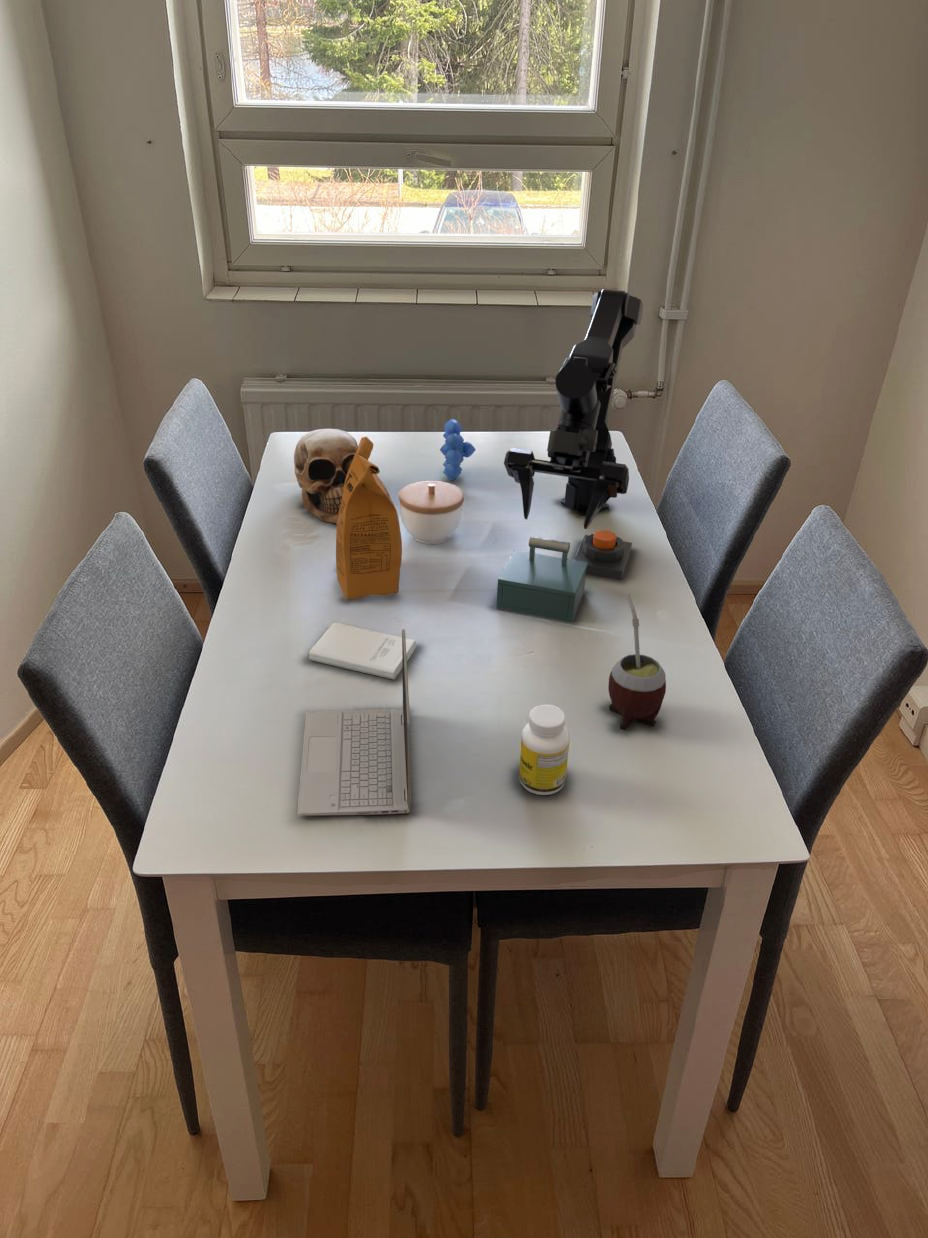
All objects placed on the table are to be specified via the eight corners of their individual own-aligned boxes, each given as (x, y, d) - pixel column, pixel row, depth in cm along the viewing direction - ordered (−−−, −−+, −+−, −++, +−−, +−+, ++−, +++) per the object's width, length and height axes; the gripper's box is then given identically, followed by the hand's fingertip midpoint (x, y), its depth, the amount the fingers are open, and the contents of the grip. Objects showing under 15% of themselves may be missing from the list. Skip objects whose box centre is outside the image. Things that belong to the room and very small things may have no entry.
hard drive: (335, 630, 135) (416, 648, 131) (309, 661, 128) (393, 681, 125) (334, 620, 134) (416, 638, 131) (308, 651, 127) (393, 671, 124)
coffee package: (399, 560, 152) (397, 431, 140) (404, 601, 142) (402, 465, 130) (337, 562, 151) (330, 432, 139) (337, 603, 141) (329, 467, 128)
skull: (347, 528, 160) (339, 452, 154) (270, 512, 168) (259, 440, 162) (400, 498, 172) (394, 426, 165) (325, 484, 180) (317, 416, 174)
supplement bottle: (515, 765, 112) (520, 700, 106) (560, 764, 112) (567, 699, 107) (521, 798, 107) (527, 731, 102) (568, 796, 108) (576, 730, 102)
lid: (513, 553, 146) (515, 527, 143) (587, 566, 143) (590, 540, 141) (497, 583, 138) (499, 556, 136) (575, 597, 136) (578, 570, 133)
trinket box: (465, 523, 163) (467, 473, 158) (459, 553, 154) (460, 501, 149) (404, 519, 164) (404, 469, 159) (394, 548, 155) (393, 496, 150)
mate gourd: (646, 741, 116) (664, 641, 108) (588, 719, 119) (601, 620, 111) (669, 710, 121) (687, 612, 113) (613, 689, 125) (627, 592, 116)
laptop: (306, 715, 118) (299, 629, 111) (406, 712, 119) (405, 627, 112) (297, 819, 103) (288, 727, 96) (411, 814, 104) (411, 723, 97)
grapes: (476, 492, 174) (479, 430, 167) (440, 492, 173) (441, 430, 167) (472, 466, 184) (474, 407, 177) (438, 466, 183) (438, 407, 177)
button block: (583, 543, 158) (585, 525, 156) (630, 551, 156) (633, 532, 155) (571, 571, 150) (573, 552, 148) (621, 580, 148) (623, 561, 146)
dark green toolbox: (511, 580, 148) (512, 556, 145) (583, 593, 145) (586, 569, 143) (496, 608, 141) (497, 583, 138) (572, 622, 138) (575, 597, 136)
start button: (594, 537, 154) (596, 528, 153) (616, 541, 153) (618, 532, 152) (590, 548, 151) (591, 538, 150) (613, 551, 150) (614, 542, 149)
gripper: (510, 397, 140) (486, 495, 137) (635, 413, 135) (614, 515, 132) (520, 428, 150) (498, 520, 147) (636, 445, 146) (617, 539, 143)
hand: (555, 523), depth 142 cm, fingers open, 9 cm apart
